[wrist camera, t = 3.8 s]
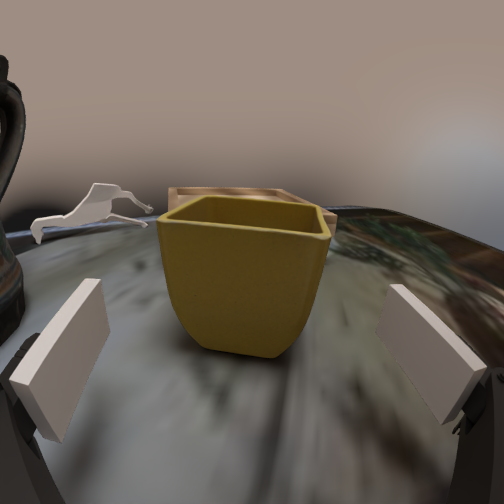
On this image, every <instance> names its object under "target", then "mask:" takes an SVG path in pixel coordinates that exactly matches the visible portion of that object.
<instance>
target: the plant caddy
mask: <svg viewBox="0 0 504 504" xmlns="http://www.w3.org/2000/svg"><path fill="white" fill-rule="evenodd" d="M204 195H217V196H231V197H243V198H254V199H265V200H275V201H286V202H295V203H304V204H312V203H310V202H308V201H306V200H303V199H301V198H299V197H297V196H295V195H293V194H290V193H288V192H286V191H284V190H281V189H263V188H221V187H216V188H215V187H208V188H207V187H181V188H180V187H179V188H177V187H176V188H175V187H174V188H169V199H168V212H169V211H171V210H173V209H175V208H177V207H179V206H181V205H183V204H185V203H187V202H189V201H191V200H193V199H196V198H198V197H201V196H204ZM312 205H314V204H312ZM320 208H321V207H320ZM321 211H322V215H323V218H324V221H325V222H326V224H327V227H328V228H329V230H330V233H331V235H332V237H334V235H335V229H336V222H337V215H335V214H333V213H331V212H329V211H327V210H325V209H323V208H321Z"/></svg>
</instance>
